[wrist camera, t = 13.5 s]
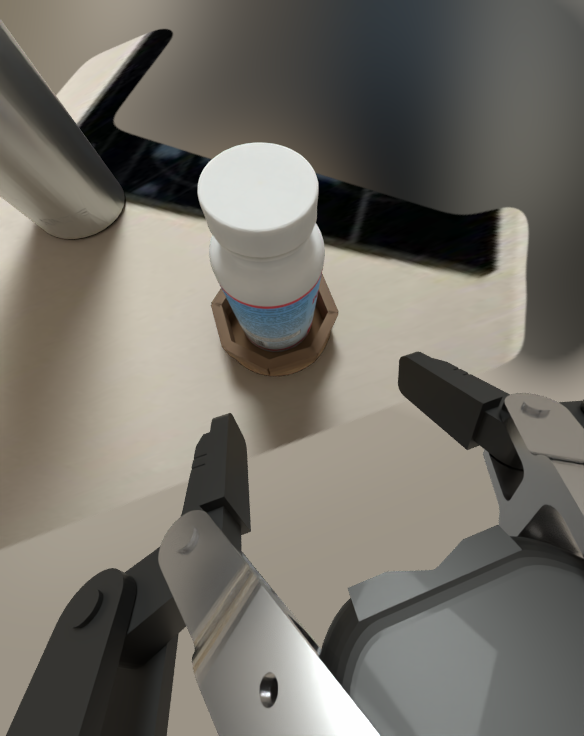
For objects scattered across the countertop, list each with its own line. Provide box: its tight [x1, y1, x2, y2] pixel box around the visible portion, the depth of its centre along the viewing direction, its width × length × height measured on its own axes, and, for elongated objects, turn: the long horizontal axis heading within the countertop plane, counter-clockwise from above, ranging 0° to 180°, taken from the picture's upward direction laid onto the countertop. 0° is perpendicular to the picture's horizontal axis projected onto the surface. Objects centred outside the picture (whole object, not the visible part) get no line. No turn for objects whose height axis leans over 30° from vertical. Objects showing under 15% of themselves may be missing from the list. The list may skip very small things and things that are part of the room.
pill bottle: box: [198, 143, 325, 352], centre depth 13 cm, size 6×6×11 cm
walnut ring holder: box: [211, 274, 338, 376], centre depth 18 cm, size 10×10×3 cm
